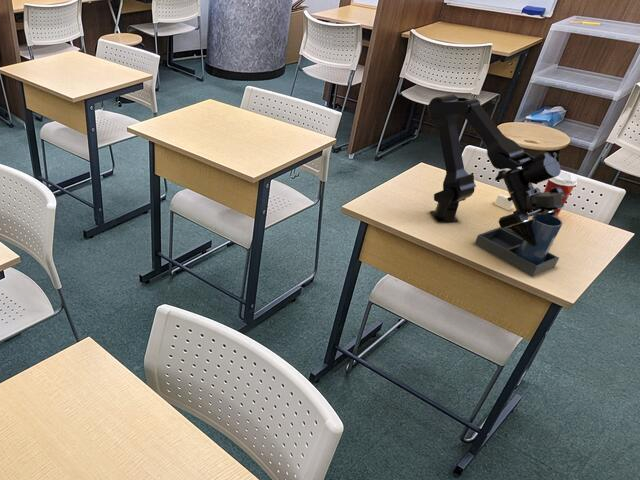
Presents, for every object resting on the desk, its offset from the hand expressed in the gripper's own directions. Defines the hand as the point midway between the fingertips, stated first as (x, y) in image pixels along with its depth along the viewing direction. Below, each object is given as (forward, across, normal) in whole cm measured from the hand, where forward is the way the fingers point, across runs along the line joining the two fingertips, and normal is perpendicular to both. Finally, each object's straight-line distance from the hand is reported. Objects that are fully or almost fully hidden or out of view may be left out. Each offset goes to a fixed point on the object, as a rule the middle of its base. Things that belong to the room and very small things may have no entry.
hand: (542, 242), depth 149 cm
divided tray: (+2, 0, +10) cm, 10 cm away
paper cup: (-5, +30, +17) cm, 35 cm away
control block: (-2, +11, +13) cm, 17 cm away
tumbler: (+4, 0, +6) cm, 7 cm away
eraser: (-12, +22, +24) cm, 35 cm away
